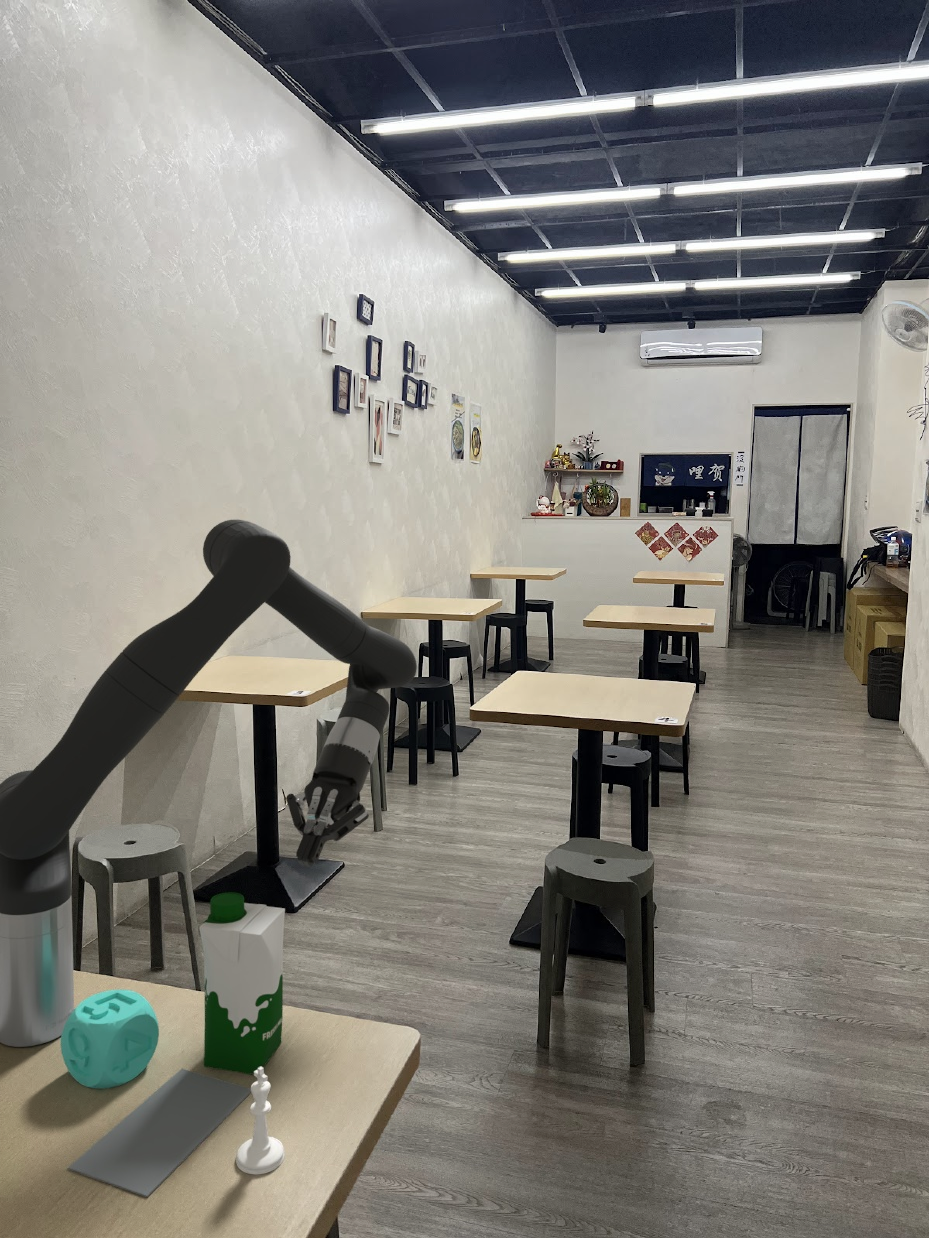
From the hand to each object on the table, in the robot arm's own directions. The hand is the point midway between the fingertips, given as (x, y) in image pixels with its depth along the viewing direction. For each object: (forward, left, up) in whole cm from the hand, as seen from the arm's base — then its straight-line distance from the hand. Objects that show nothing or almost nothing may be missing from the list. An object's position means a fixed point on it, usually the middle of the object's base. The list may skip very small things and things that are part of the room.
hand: (304, 863), depth 123 cm
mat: (0, -29, -19) cm, 35 cm away
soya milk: (0, -14, -20) cm, 24 cm away
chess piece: (+12, -29, -20) cm, 37 cm away
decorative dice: (-13, -23, -20) cm, 33 cm away
